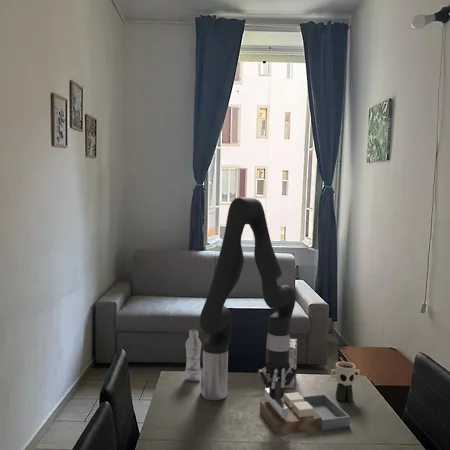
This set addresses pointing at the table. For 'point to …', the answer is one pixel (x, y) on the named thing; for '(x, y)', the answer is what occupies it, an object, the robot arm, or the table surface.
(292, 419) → the walnut plate
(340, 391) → the character mug
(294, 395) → the cream tile
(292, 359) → the candy bar box
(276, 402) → the bar
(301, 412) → the cream tile
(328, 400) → the box
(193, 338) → the plastic bottle
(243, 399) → the table surface
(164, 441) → the table surface
